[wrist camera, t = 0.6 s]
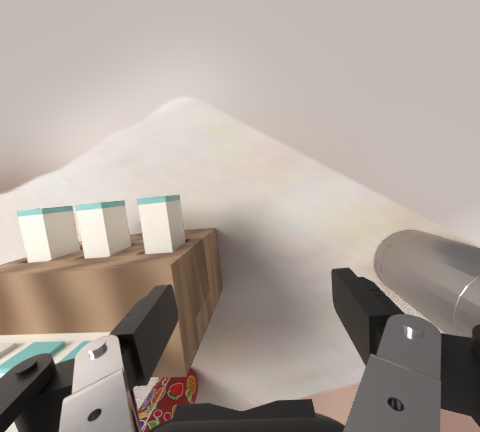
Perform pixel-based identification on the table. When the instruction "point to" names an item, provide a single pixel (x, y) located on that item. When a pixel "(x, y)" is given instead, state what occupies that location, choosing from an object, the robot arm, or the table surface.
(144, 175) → the table surface
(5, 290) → the frame
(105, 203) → the plunger
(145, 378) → the robot arm
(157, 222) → the teal-ended white block
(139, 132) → the table surface
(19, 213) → the plunger
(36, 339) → the card
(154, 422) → the smoothie
